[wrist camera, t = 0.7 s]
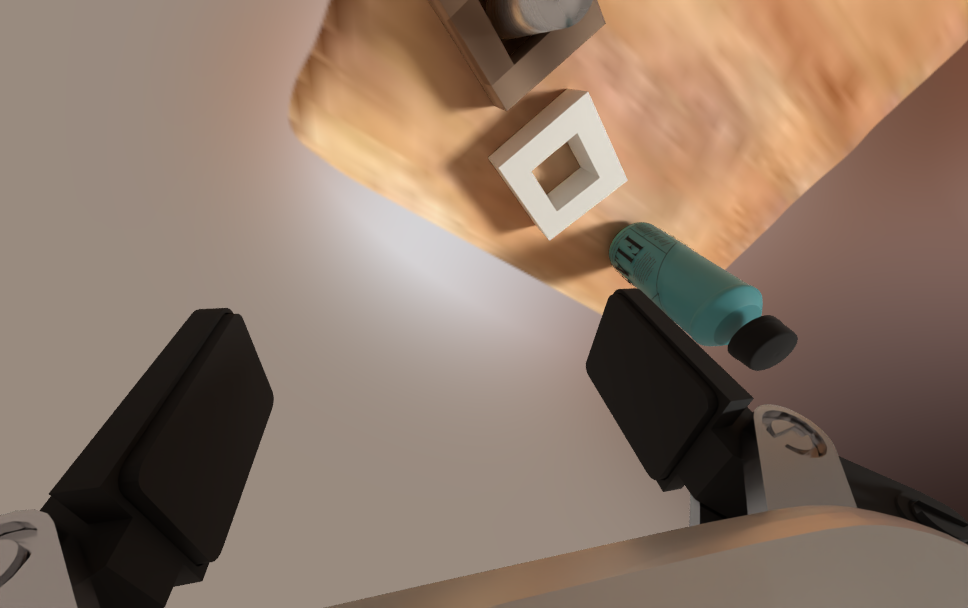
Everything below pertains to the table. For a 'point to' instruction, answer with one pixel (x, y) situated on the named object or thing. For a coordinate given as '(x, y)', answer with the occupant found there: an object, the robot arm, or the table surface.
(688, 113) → the table surface
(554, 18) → the steel peg
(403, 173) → the table surface
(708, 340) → the beverage bottle
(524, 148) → the block
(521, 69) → the socket block
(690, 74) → the table surface
